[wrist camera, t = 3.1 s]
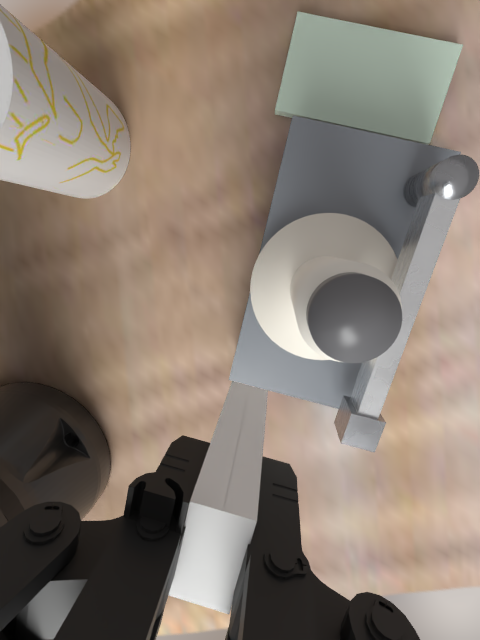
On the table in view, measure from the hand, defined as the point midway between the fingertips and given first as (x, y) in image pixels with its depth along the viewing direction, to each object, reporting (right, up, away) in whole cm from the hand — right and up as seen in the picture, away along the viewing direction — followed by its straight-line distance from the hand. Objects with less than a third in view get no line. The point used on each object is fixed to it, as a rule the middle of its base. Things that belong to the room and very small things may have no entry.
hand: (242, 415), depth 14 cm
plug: (+6, +7, +13) cm, 16 cm away
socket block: (+6, +8, +13) cm, 16 cm away
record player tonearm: (+9, +5, +8) cm, 13 cm away
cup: (-13, +18, +13) cm, 25 cm away
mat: (+8, +20, +10) cm, 24 cm away
